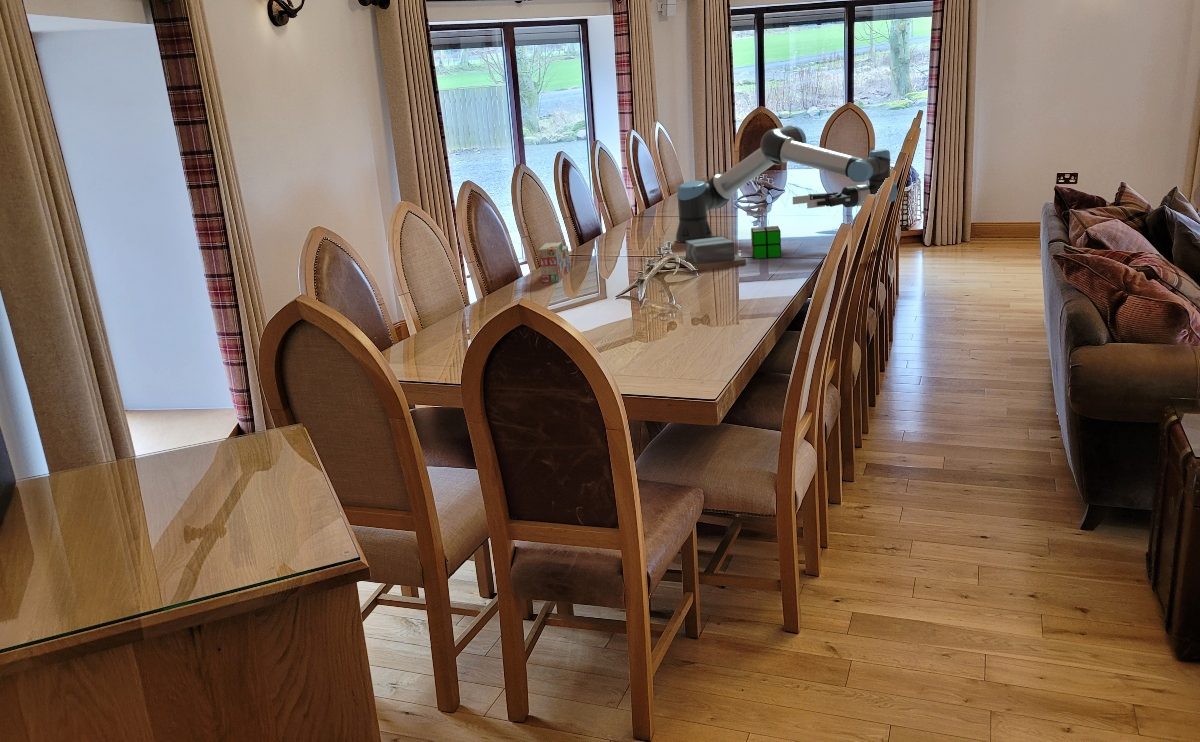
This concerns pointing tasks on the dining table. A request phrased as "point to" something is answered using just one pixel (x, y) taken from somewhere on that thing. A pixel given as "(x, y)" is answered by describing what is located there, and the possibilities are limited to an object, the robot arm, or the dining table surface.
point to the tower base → (712, 253)
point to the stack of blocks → (554, 261)
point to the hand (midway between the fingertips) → (800, 202)
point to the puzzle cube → (766, 242)
